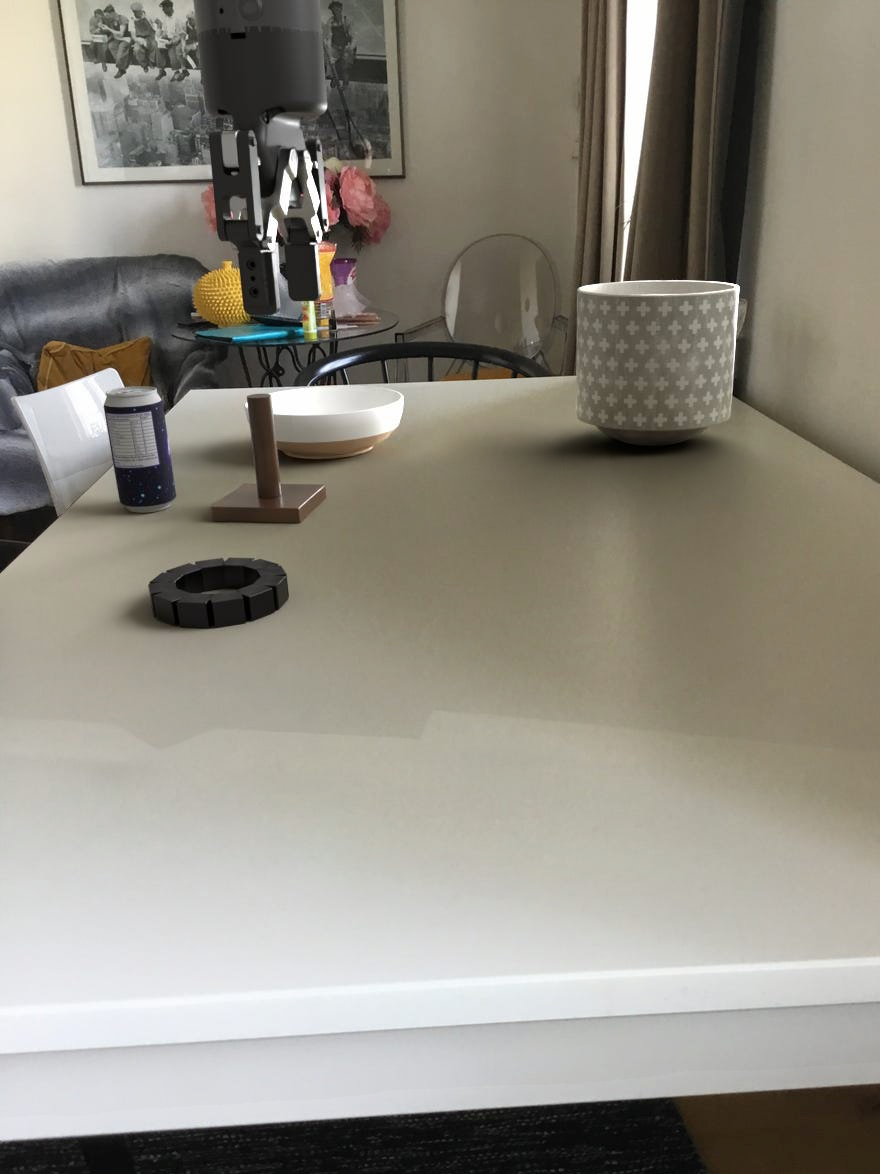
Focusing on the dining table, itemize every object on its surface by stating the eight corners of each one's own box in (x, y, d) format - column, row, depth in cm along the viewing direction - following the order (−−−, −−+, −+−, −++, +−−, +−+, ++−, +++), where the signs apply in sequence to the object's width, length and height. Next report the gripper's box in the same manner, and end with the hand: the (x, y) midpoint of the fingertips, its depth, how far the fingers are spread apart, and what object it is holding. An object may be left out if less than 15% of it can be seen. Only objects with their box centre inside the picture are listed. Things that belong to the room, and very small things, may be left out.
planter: (736, 456, 122) (747, 293, 115) (572, 456, 125) (573, 296, 118) (721, 423, 140) (731, 279, 133) (578, 423, 142) (579, 281, 135)
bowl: (426, 434, 138) (423, 387, 136) (374, 470, 121) (370, 417, 119) (289, 430, 143) (285, 384, 141) (221, 464, 126) (214, 413, 124)
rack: (212, 521, 104) (197, 404, 100) (245, 496, 112) (232, 387, 108) (300, 523, 103) (288, 404, 98) (326, 498, 111) (316, 387, 106)
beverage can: (188, 505, 110) (171, 389, 105) (139, 518, 106) (119, 397, 101) (159, 496, 113) (142, 383, 108) (110, 508, 109) (90, 391, 105)
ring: (129, 625, 79) (124, 600, 78) (185, 578, 89) (182, 555, 88) (260, 630, 78) (258, 604, 77) (304, 581, 87) (302, 558, 86)
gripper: (244, 46, 71) (269, 297, 77) (149, 15, 58) (187, 320, 65) (351, 41, 70) (367, 297, 76) (278, 8, 57) (305, 319, 63)
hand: (285, 307), depth 70 cm, fingers open, 8 cm apart
